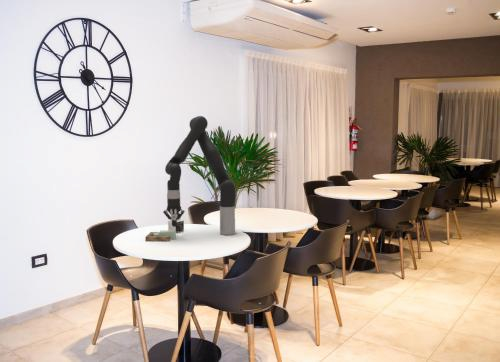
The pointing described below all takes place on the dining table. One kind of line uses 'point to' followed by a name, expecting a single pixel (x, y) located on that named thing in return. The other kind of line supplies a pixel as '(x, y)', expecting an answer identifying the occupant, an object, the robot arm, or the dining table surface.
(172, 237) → the bottle
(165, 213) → the robot arm
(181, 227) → the medicine bottle
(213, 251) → the dining table surface
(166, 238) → the tray
